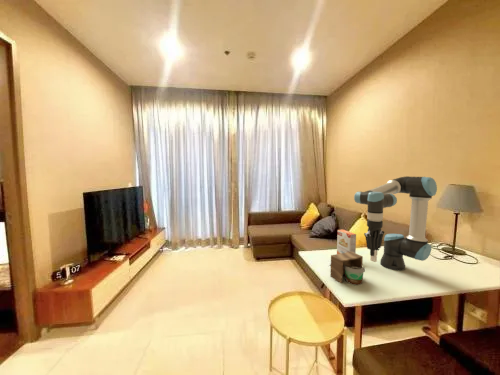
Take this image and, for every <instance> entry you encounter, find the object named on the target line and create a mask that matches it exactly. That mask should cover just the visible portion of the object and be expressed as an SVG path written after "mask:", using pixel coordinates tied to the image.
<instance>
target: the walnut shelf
mask: <svg viewBox="0 0 500 375" xmlns="http://www.w3.org/2000/svg"><path fill="white" fill-rule="evenodd" d="M363 258H364V257H363V256H362V254H361V255H360V254H358V253H354V252H346V253H341V254H337V253H336V254H331V255H330V275H329V277H330V278H332V279H333V280H335V281H337V282H338V283H340V284H342V283H343V276H345V269H344V268H343V267H344V265H345V266H355V267H362V268H363V262H364V261H363Z"/></svg>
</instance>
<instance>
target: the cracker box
mask: <svg viewBox="0 0 500 375" xmlns="http://www.w3.org/2000/svg"><path fill="white" fill-rule="evenodd" d="M336 237H337V238H336V241H337V242H336V254H341V253H346V252H354V253H356V252H357V250H356V249H357V248H356V247H357V234H356V233H354V232H351V231H349V230H346V229H337V236H336ZM356 254H357V253H356Z"/></svg>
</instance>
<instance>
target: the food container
mask: <svg viewBox="0 0 500 375" xmlns="http://www.w3.org/2000/svg"><path fill="white" fill-rule="evenodd" d="M343 268H344V269H345V274H344V277H345V279H344V280H345V282H346V283H348V284H351V285H354V286H359V285H362V283H363V278H364V273H365V271H366V270H365V269H366V268H365V267H363V266H362V267H355V266H345V265H344V267H343Z"/></svg>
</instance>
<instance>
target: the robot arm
mask: <svg viewBox="0 0 500 375" xmlns="http://www.w3.org/2000/svg"><path fill="white" fill-rule="evenodd" d="M437 190H438V185H437V181H436V180H435V179H434V178H433V177H431V176H428V177H427V176H407V175H406V176H400V177H396V178H393V179H391V180H388V181H387V182H386V183H384V184H381V185H379V186H376V187H374V188H371V189H368V190H365V191H356V192H355V193H354V196H353V200H354V202H355V203H356V204H361V205H367V210H366V211H367V215H366V216H367V220H366V226H367V232H364V234H363V235H364V237H365V242H366V248H367V250H370V252H369V255H370V261H371V262H373V263H376V262H378V260H377V258H378V257H377V256H378V251H379V250H380V249H381V248H382V242H383V254H382V256H381V259H380V260H379V261H380V265H381V266H382V267H384V268H386V269H389V270H393V271H404V270H405V269H406V262H405V258H404V256H405V257H408V258H410V259H411V258H412V259H413V260H414V259H415V260H417V261H422V262H423V261H426V260H427V259H428V258H430V257H429V256H430V255H431V253H432V245H431V244H430V243H429V242H428V240H429V239H427V238H426V231H427V219H428V209H429V208H428V207H429V201H431V199H432V198H433V196H435V195H436V194H437ZM395 194H409V195H408V196H409V198H410V199H411V204H410V206H411V207H410V219H409V229H408V235H406V236H405V235H404V234H401V233H387V234H385V231H384V230H382V228H383V226H384V224H383V220H384V209H386V208H392V207H393V206H396V205H397V202H398V199H397V196H396V195H395ZM384 234H385V235H384ZM383 237H384V238H383Z"/></svg>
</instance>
